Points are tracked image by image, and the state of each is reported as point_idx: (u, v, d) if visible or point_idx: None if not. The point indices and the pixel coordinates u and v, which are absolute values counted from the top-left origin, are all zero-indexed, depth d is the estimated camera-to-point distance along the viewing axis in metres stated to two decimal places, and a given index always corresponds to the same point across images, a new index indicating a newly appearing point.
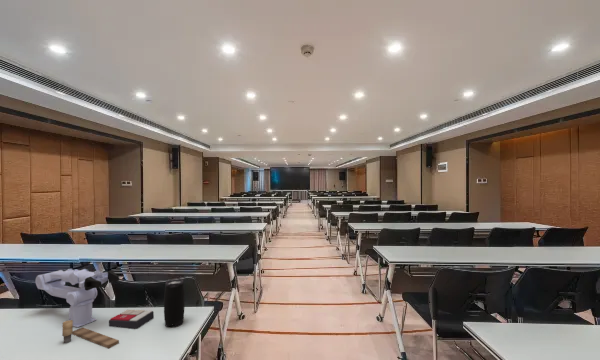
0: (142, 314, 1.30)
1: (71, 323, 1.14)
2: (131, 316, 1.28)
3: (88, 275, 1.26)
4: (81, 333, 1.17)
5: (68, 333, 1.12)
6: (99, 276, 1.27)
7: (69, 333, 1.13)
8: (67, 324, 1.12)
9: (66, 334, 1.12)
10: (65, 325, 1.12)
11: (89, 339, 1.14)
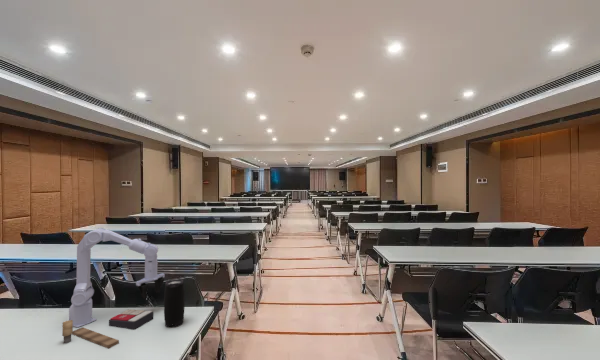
0: (141, 314, 1.29)
1: (71, 323, 1.14)
2: (130, 316, 1.28)
3: (150, 273, 1.38)
4: (81, 333, 1.17)
5: (68, 333, 1.12)
6: None
7: (69, 333, 1.13)
8: (67, 324, 1.12)
9: (66, 334, 1.12)
10: (65, 325, 1.12)
11: (89, 339, 1.14)
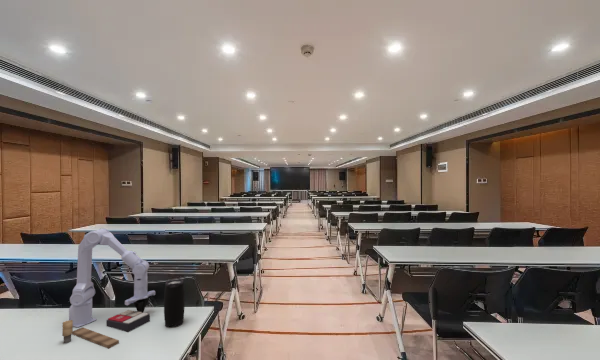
0: (137, 316, 1.27)
1: (71, 323, 1.14)
2: (126, 318, 1.26)
3: (140, 291, 1.33)
4: (81, 333, 1.17)
5: (68, 333, 1.12)
6: None
7: (69, 333, 1.13)
8: (67, 324, 1.12)
9: (66, 334, 1.12)
10: (65, 325, 1.12)
11: (89, 339, 1.14)
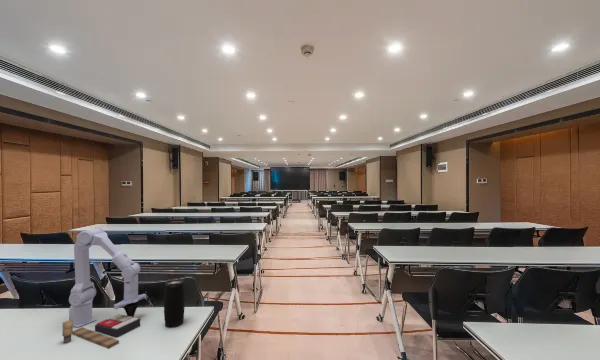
0: (127, 321, 1.23)
1: (71, 323, 1.14)
2: (115, 323, 1.22)
3: (130, 294, 1.28)
4: (81, 333, 1.17)
5: (68, 333, 1.12)
6: None
7: (69, 333, 1.13)
8: (67, 324, 1.12)
9: (66, 334, 1.12)
10: (65, 325, 1.12)
11: (89, 339, 1.14)
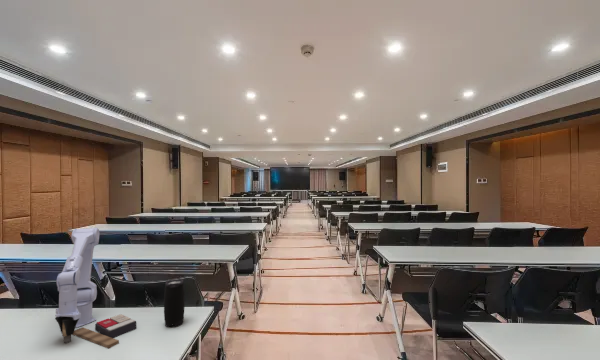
0: (122, 323, 1.21)
1: None
2: (112, 323, 1.21)
3: None
4: (81, 333, 1.17)
5: None
6: None
7: None
8: None
9: None
10: None
11: (89, 339, 1.14)
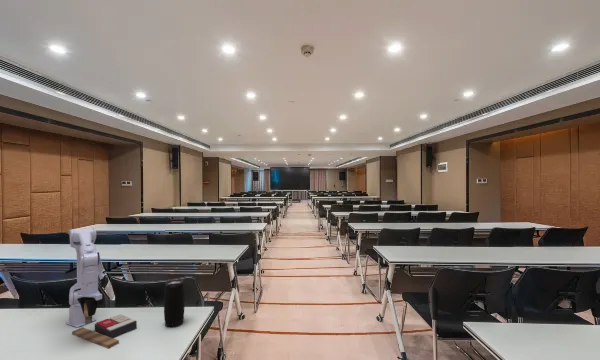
0: (123, 323, 1.21)
1: None
2: (112, 323, 1.21)
3: None
4: (81, 333, 1.17)
5: None
6: None
7: None
8: None
9: (87, 315, 1.14)
10: (86, 306, 1.14)
11: (89, 339, 1.14)
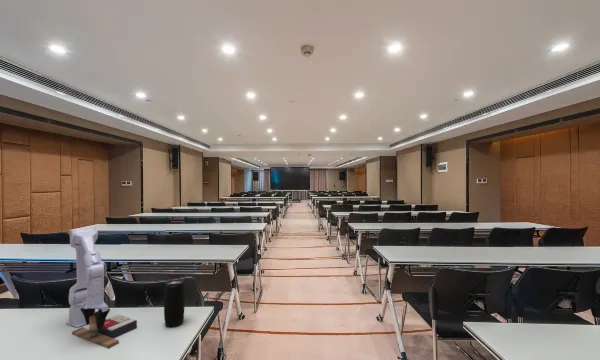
0: (123, 323, 1.21)
1: None
2: (112, 323, 1.21)
3: None
4: (81, 333, 1.17)
5: (95, 327, 1.14)
6: None
7: (96, 327, 1.15)
8: (94, 319, 1.14)
9: (93, 328, 1.14)
10: (92, 319, 1.14)
11: (89, 339, 1.14)
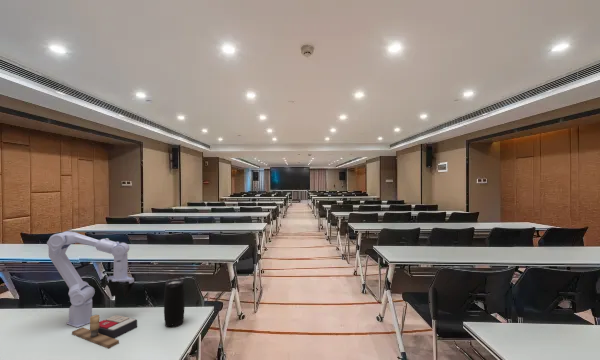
0: (123, 322, 1.22)
1: (98, 318, 1.16)
2: (112, 324, 1.21)
3: None
4: (81, 333, 1.17)
5: (95, 327, 1.14)
6: None
7: (96, 327, 1.15)
8: (94, 319, 1.14)
9: (93, 328, 1.14)
10: (93, 319, 1.14)
11: (89, 339, 1.14)
